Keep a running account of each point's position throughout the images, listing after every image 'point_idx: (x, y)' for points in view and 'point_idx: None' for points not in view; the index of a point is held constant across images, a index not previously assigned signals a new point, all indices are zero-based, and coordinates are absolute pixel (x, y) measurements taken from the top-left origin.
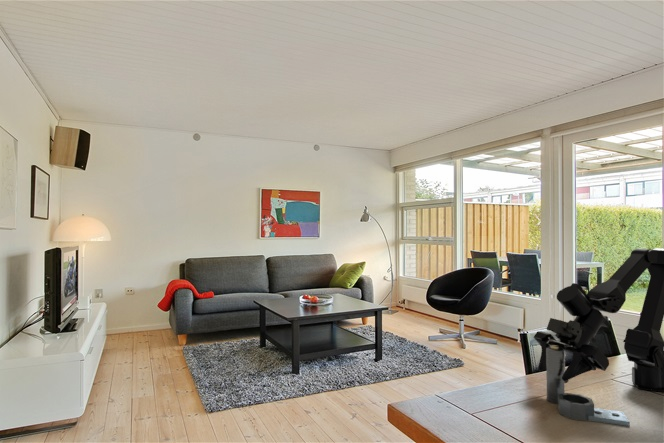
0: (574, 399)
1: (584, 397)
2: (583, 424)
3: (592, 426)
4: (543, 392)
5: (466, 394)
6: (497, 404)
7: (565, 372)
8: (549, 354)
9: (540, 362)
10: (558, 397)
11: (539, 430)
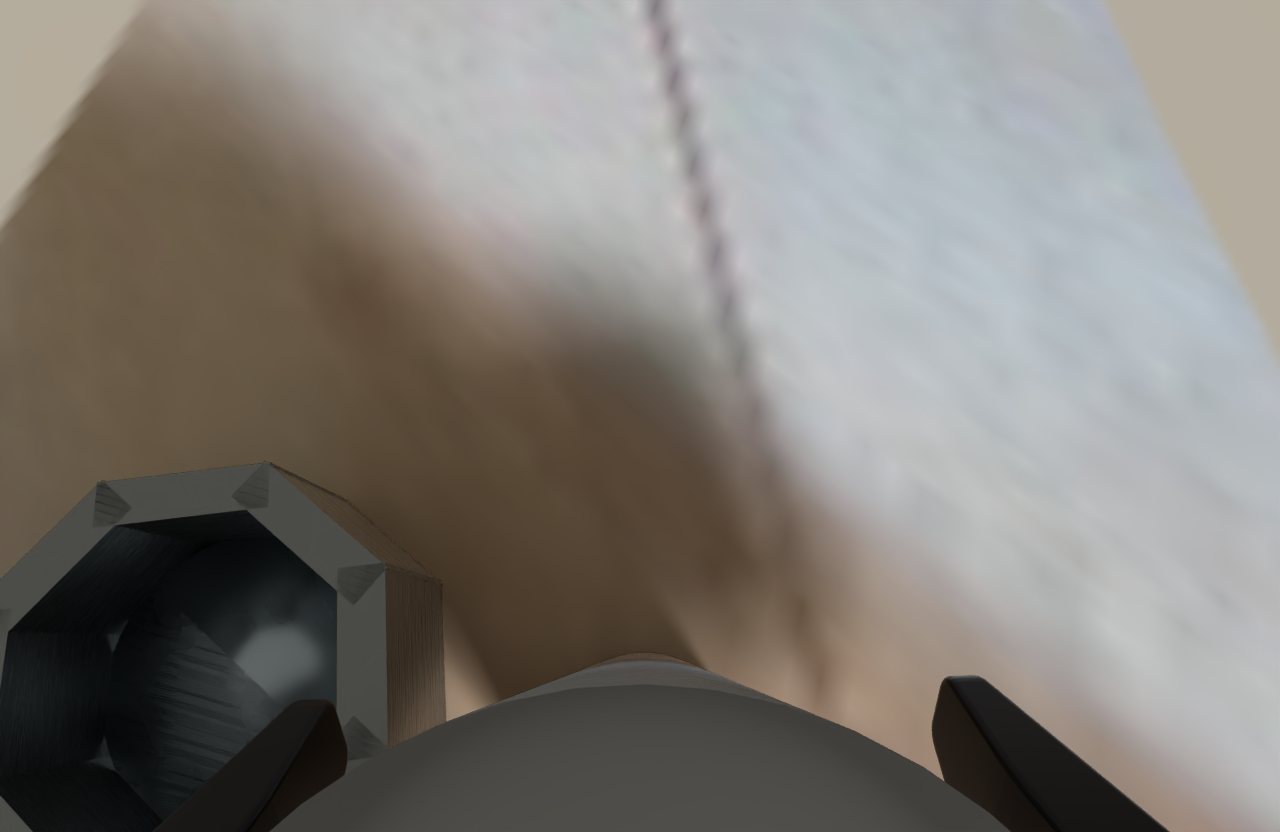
0: None
1: None
2: None
3: None
4: None
5: (994, 3)
6: (723, 112)
7: (221, 814)
8: (586, 678)
9: (1087, 794)
10: (354, 534)
11: (193, 108)
